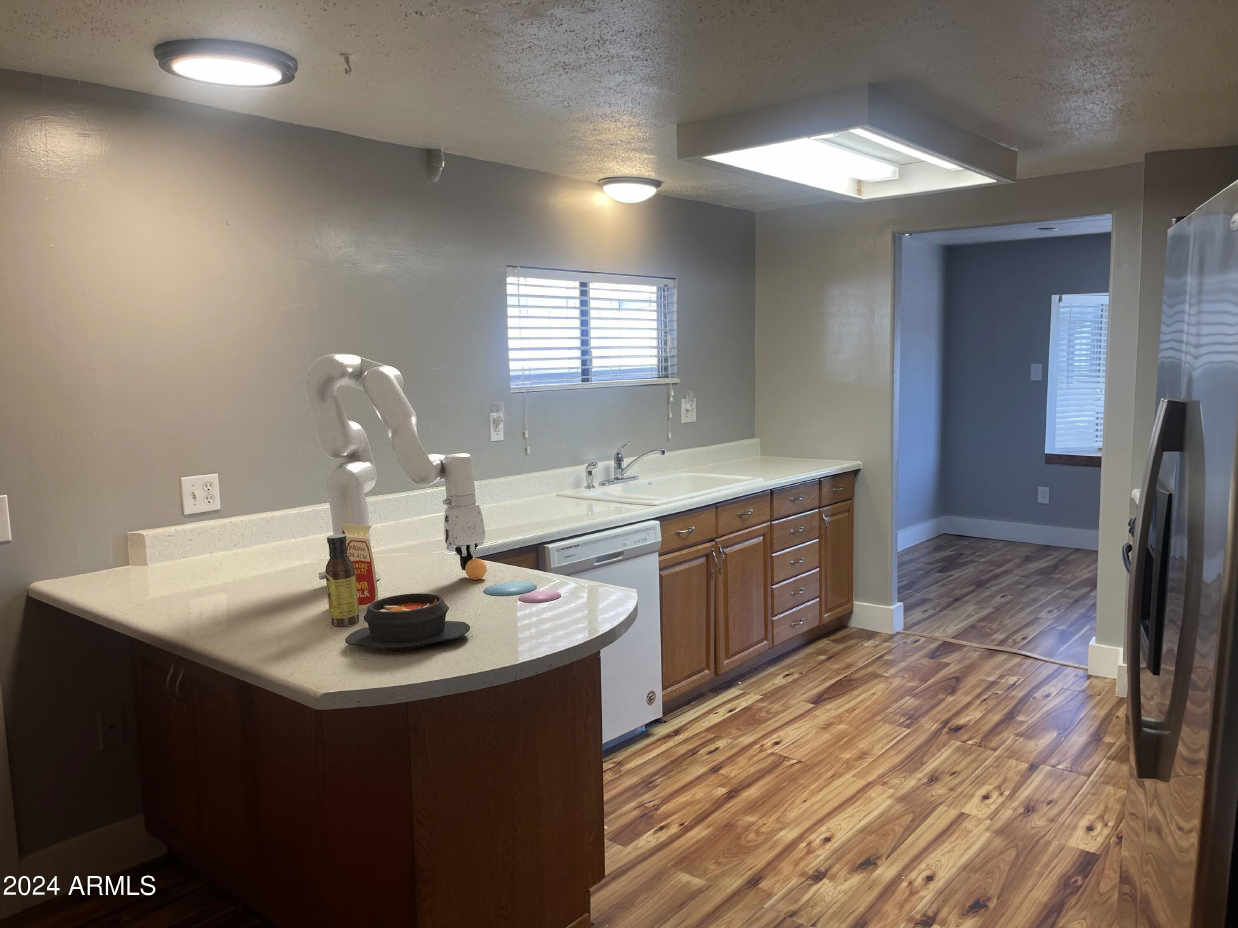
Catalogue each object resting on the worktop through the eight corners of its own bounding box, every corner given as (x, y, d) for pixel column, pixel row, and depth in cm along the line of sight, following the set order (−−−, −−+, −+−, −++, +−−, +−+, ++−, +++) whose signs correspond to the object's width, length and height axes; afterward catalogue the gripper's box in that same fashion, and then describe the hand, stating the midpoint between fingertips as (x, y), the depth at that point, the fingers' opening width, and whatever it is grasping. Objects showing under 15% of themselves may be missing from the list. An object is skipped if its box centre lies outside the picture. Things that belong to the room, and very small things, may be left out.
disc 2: (534, 604, 211) (534, 604, 211) (510, 597, 218) (510, 597, 218) (569, 595, 217) (569, 595, 217) (544, 589, 225) (544, 588, 225)
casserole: (476, 625, 197) (473, 587, 196) (463, 653, 178) (460, 610, 178) (359, 632, 197) (355, 594, 196) (334, 660, 178) (330, 618, 177)
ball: (459, 573, 240) (470, 585, 236) (463, 556, 238) (474, 567, 234) (477, 570, 244) (488, 581, 240) (481, 552, 241) (492, 564, 238)
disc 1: (502, 598, 218) (502, 597, 218) (473, 590, 228) (473, 589, 228) (547, 587, 226) (547, 586, 226) (517, 579, 236) (517, 579, 236)
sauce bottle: (335, 620, 207) (327, 533, 205) (363, 618, 207) (355, 531, 205) (326, 628, 201) (317, 538, 198) (355, 627, 201) (346, 537, 198)
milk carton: (344, 611, 215) (336, 526, 213) (337, 603, 223) (329, 521, 221) (383, 604, 219) (376, 521, 217) (374, 596, 227) (367, 516, 225)
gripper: (443, 506, 233) (450, 577, 235) (493, 497, 243) (499, 566, 245) (428, 504, 239) (435, 573, 241) (477, 495, 248) (483, 562, 250)
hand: (467, 569), depth 243 cm, fingers closed
